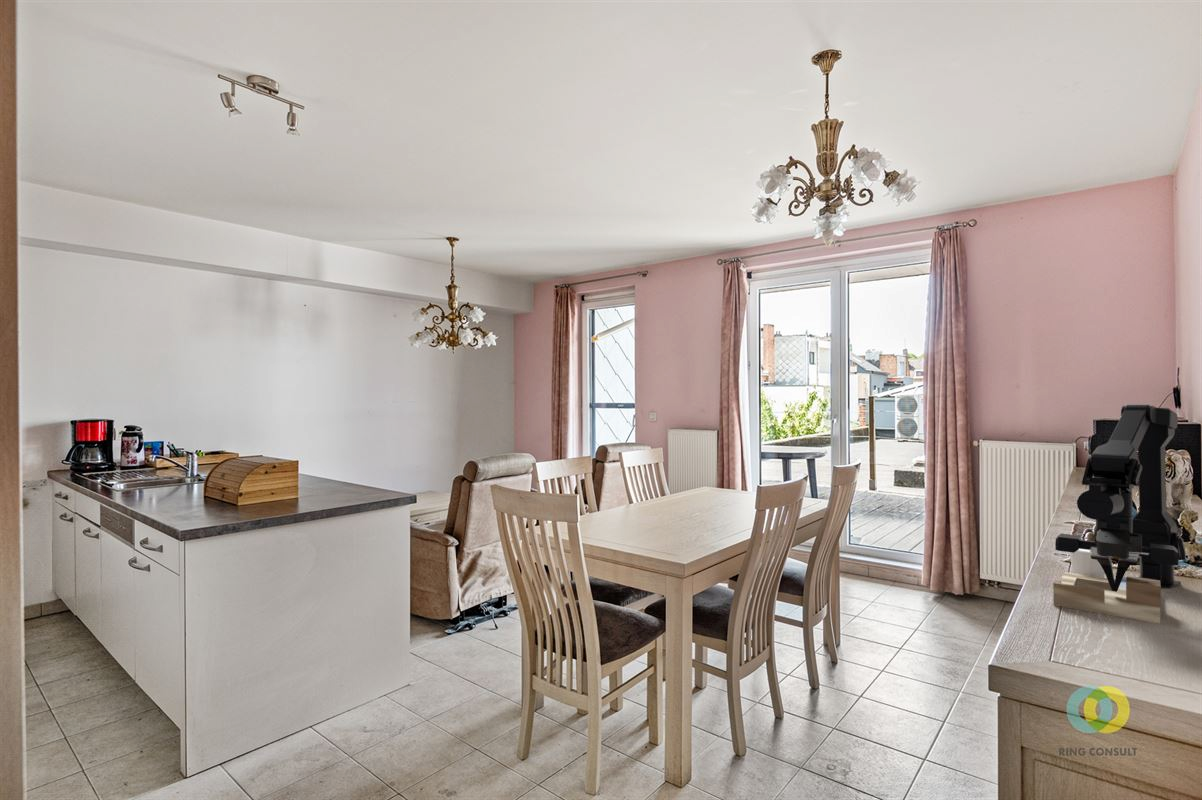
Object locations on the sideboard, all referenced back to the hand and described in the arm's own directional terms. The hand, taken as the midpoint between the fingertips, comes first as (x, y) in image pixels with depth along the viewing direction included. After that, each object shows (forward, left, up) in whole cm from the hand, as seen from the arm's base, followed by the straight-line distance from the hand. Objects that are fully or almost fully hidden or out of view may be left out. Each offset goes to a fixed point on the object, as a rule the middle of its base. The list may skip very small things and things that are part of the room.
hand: (1114, 591), depth 123 cm
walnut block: (-1, +4, -1) cm, 4 cm away
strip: (-12, -1, -3) cm, 12 cm away
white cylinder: (-17, -12, -3) cm, 21 cm away
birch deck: (-3, -3, -3) cm, 5 cm away
